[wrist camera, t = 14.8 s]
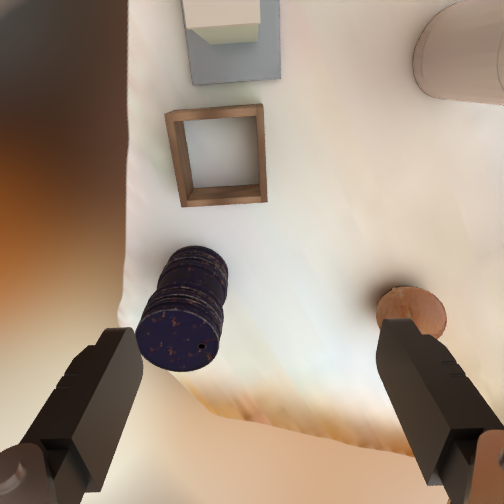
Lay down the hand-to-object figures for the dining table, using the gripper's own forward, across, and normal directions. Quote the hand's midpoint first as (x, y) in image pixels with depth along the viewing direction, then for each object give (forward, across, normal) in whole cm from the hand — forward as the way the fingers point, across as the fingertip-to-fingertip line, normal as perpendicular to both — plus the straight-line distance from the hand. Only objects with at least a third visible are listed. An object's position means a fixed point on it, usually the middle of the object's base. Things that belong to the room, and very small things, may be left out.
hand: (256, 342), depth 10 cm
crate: (+34, +4, 0) cm, 34 cm away
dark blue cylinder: (+34, +10, +18) cm, 40 cm away
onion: (+34, -23, +25) cm, 48 cm away
